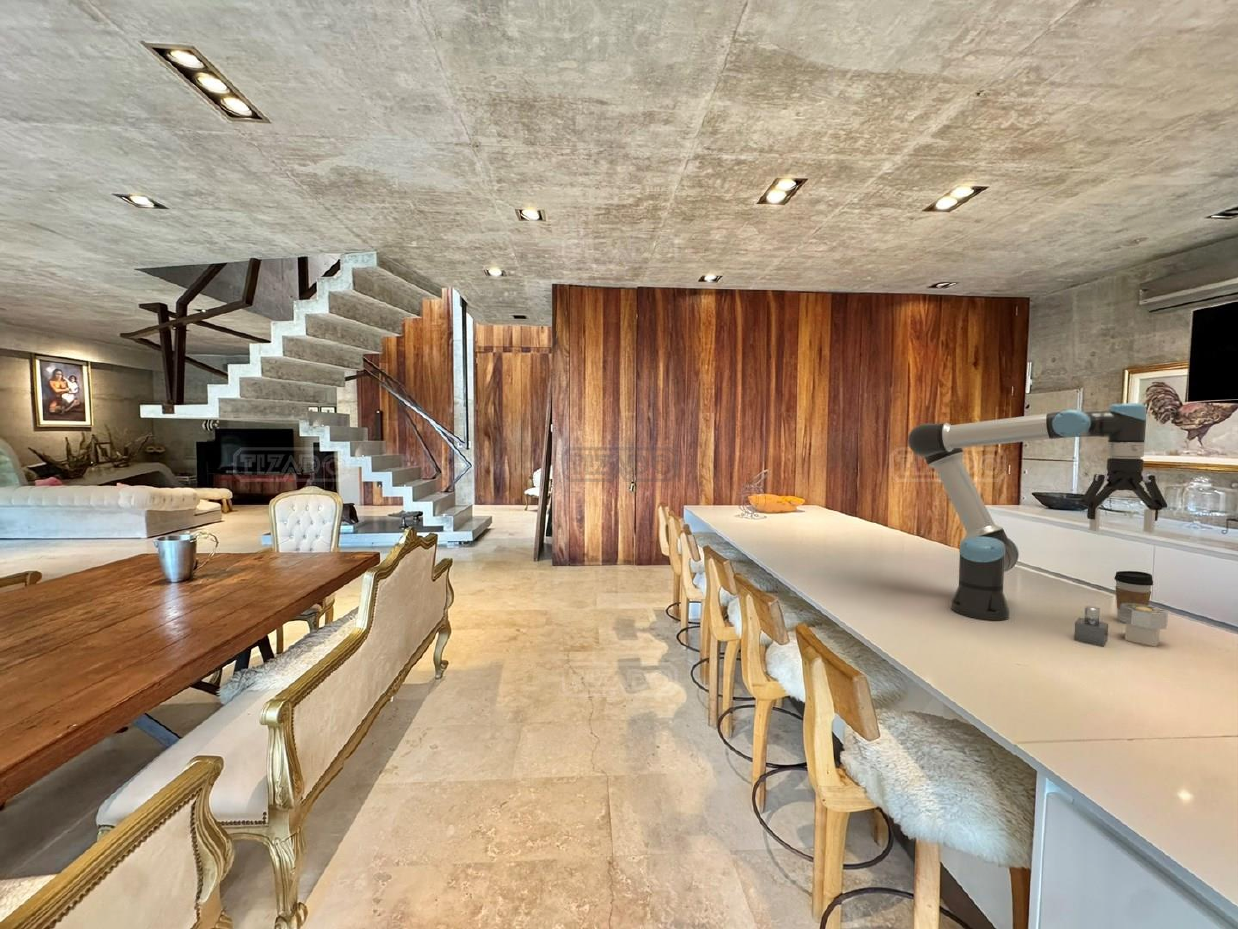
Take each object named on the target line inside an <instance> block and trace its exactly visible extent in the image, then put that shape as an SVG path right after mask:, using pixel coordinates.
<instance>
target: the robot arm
mask: <svg viewBox="0 0 1238 929" xmlns="http://www.w3.org/2000/svg"><path fill="white" fill-rule="evenodd" d="M1146 429H1147V406H1146V405H1145V404H1143V403H1139V402H1135V403H1133V402H1132V403H1131V402H1130V403H1129V402H1128V403H1113V404H1112V403H1111V405H1110V406H1109V409H1108V410H1104V411H1082V410H1079V409H1066V410H1063V411H1057V412H1049V413H1040V414H1033V415H1024V416H1017V417H1016V416H1015V417H1010V418H1007V417H1006V418H1000V419H999V418H998V419H991V420H983V421H977V422H968V423H959V424H952V425H951V424H950V423H948V422H944V423H927V422H926V423H922V424H919V425H916V426H915V427H913V428H912V430H911V431H910V432H909V434H908V437H907V444H908V447H909V449H910V450H911V451H912V453H914V454H916V455H918V456H919V457H923V458H924V461H925V463H926V464H927V466H928V467H930V468H933V469H934V470H935V472H936V474H937V475H938V476H937V477H938V478H939V480H940V481H941V484H942V485H943V488H944V490H945V491H946V494H947V496H948V498H949V500H950V502H951V504H952V506H953V508H954V510H955V512H956V515H957V516H958V518H959V521H960V522H961V524H962V526H963V529H964V530H965V532H966V534H965V536H964V537H963V539H962V540H961V541H960V544H959V548H958V550H959V551H958V552H959V563H958V564H959V566H958V568H959V569H958V586H957V588H956V591H955V593H954V595H953V598H952V599H951V604H950V605H951V606H950V608H951V610H953V611H954V612H955V613H957V614H960V615H962V616H966V617H970V618H972V619H978V620H984V621H985V620H986V621H987V620H988V621H1006V620H1008V619H1009V618H1010V609H1009V608H1010V607H1009V605H1008V603H1007V600H1006V597H1005V593H1004V581H1005V580H1004V578H1005V577H1004V576H1005V574H1004V573H1006V572H1008V571H1010V570H1011V569H1013V568H1014V567H1015V565H1016V564H1017V563H1018V559H1019V556H1020V552H1019V549H1018V546H1017V545H1016V543H1015V542H1014V541H1013V540H1011V539H1010V538H1008V536H1007V534H1006V532H1005V530H1004V527H1002V526H999V525H997V524H995V522H994V520H993V518H992V516H991V514H990V512H989V511H988V508H987V506H986V504H985V501H984V500H983V499H982V497H981V495H980V493H979V491H978V489H977V487H976V485H975V483H974V482H973V479H972V476H971V475H970V473H969V471H968V470H967V468H966V467H967V466H966V465H965V463H964V461H963V460H962V459H963V456H964V454H965V453H964V450H963V449H962V448H972V447H980V446H981V447H982V446H991V445H992V446H993V445H1001V444H1004V445H1005V444H1011V443H1022V442H1023V443H1024V442H1032V441H1041V440H1042V441H1043V440H1052V439H1053V440H1055V439H1056V440H1057V439H1064V438H1065V439H1067V438H1088V437H1089V438H1090V437H1091V438H1098V437H1099V438H1100V437H1101V438H1104V437H1107V438H1108V441H1107V452H1106V453H1107V457H1109V458H1107V459H1106V471H1107V474H1101V473H1095V474H1093V478H1092V479H1093V480H1092V482H1091V483H1090V486H1089V487H1088V488H1087V490H1086V491H1085V493H1084V495H1083V496H1082V497H1081V500H1080V501H1079V505H1081V506H1084V507H1085V508H1086V509H1087V510H1086V511H1087V512H1086V519H1089V525H1088V526H1089V528H1088V530H1089V531H1092V532H1099V531H1100V519H1101V516H1100V515H1101V509H1100V508H1098V507H1099V506H1100V505H1101V504H1102V503H1104V502H1105V501H1106V499H1107V498H1109V497H1110V495H1111V494H1113V493H1114V492H1117V491H1131V492H1133V493H1134V494H1135V495H1136V496H1137V497H1138V498H1139V499H1140V501H1142V503H1143V504H1144V505H1145V506H1146V507H1147V508H1144V514H1143V516H1144V517H1143V530H1142V531H1143V532H1145V533H1149V534H1155V527H1156V526H1155V525H1156V524H1155V523H1156V522H1157V521H1158V519H1159V518H1158V517H1159V511H1161V510H1163V509H1165V508H1168V504H1167V502H1166V499H1165V498H1164V496H1163V494H1162V493H1161V489H1160V488H1159V486H1158V484H1157V480H1156V476H1155V475H1153V474H1143V475H1142V472H1143V471H1144V464H1145V462H1144V461H1145V460H1143V458H1142V457H1144V456H1145V445H1146V444H1145V441H1146ZM1105 482H1107V483H1106V484H1105V485H1104V483H1105ZM1141 482H1143V484H1144V485H1145V488H1144V487H1143V485H1142V484H1141ZM1103 485H1104V486H1103ZM1102 486H1103V487H1102ZM1101 488H1102V489H1101ZM1145 489H1146V490H1145Z"/></svg>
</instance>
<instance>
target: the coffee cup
mask: <svg viewBox="0 0 1238 929" xmlns="http://www.w3.org/2000/svg"><path fill="white" fill-rule="evenodd" d="M1114 581H1115V597H1116V598H1115V599H1116V608H1117V609H1116V611H1117V615H1116V616H1117V620H1118V622H1122V623H1124V624H1126V622H1123V621H1121V620H1119V615H1120V605H1121V604H1122V603H1137V604H1143V605H1148V606H1150V604H1149V603H1150V601H1151V594H1152V591H1151V588H1152V586H1154V581H1153V575H1152V574H1151V573H1148V572H1144V571H1135V570H1123V571H1122V570H1121V571H1116V573H1115V575H1114Z"/></svg>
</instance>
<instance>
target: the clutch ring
mask: <svg viewBox="0 0 1238 929" xmlns="http://www.w3.org/2000/svg"><path fill="white" fill-rule="evenodd" d="M1136 607H1146V608H1150V609H1152V611H1144V610H1139V609H1136ZM1168 619H1169V611H1168V610H1165V609H1163V608H1160V607H1157V606H1152V605H1143V604H1137V603H1122V604H1121V605H1120V615H1119V620H1121V621H1123V622H1122V623H1124V622H1126V623H1128V624H1131V625H1135V626H1140V627H1145V628H1150V629H1160V630H1167V627H1168ZM1119 620H1118V621H1119ZM1121 621H1120V622H1121ZM1126 623H1125V624H1126Z"/></svg>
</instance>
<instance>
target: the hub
mask: <svg viewBox="0 0 1238 929" xmlns="http://www.w3.org/2000/svg"><path fill="white" fill-rule="evenodd" d="M1136 609H1139V610H1144V611H1152V609H1150V608H1146V607H1136ZM1160 630H1161V629H1150V628H1145V627H1140V626H1135V625H1131V624H1128V623H1125V638H1124V640H1125V641H1129V642H1132V643H1137V644H1142V645H1146V646H1150V647H1155V648H1156V647H1158V644H1159V642H1160Z"/></svg>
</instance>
